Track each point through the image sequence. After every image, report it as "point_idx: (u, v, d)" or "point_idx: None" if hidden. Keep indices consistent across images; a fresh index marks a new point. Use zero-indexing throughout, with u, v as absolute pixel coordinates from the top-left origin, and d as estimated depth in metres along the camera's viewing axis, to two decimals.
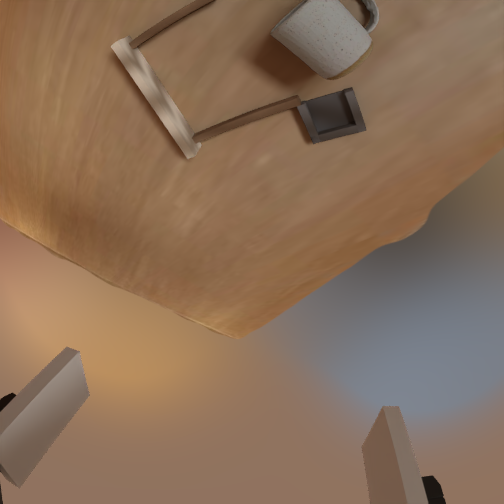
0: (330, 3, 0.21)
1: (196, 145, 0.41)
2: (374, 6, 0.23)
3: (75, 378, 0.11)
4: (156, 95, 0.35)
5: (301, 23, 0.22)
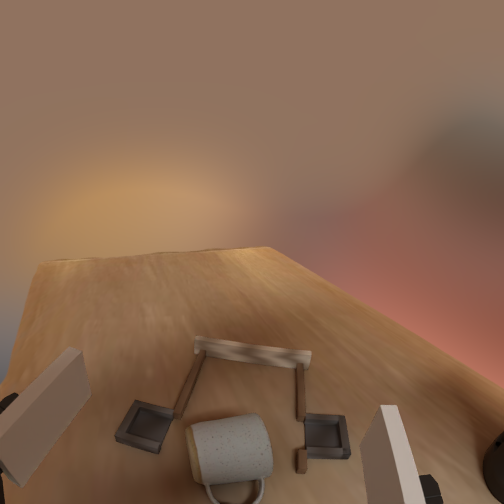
0: (257, 456, 0.26)
1: (198, 348, 0.50)
2: None
3: (77, 378, 0.12)
4: (254, 351, 0.49)
5: (252, 423, 0.28)
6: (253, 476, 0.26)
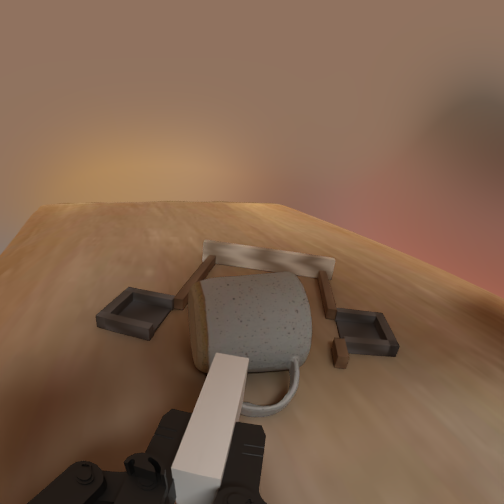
0: (290, 313, 0.21)
1: (207, 254, 0.46)
2: (248, 405, 0.18)
3: None
4: (271, 254, 0.45)
5: (282, 274, 0.24)
6: (283, 354, 0.21)
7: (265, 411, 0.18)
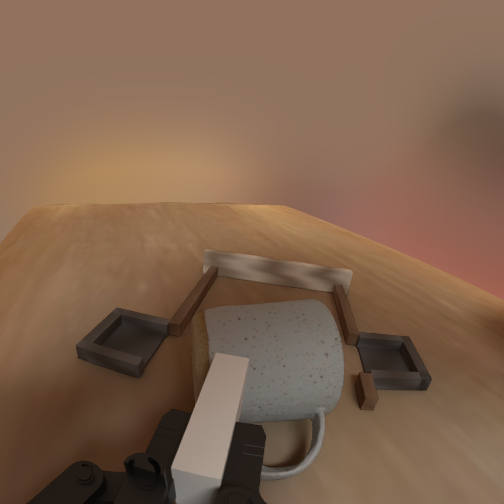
0: (319, 358, 0.16)
1: (208, 265, 0.41)
2: None
3: None
4: (280, 266, 0.40)
5: (308, 304, 0.18)
6: (306, 406, 0.16)
7: (281, 477, 0.13)
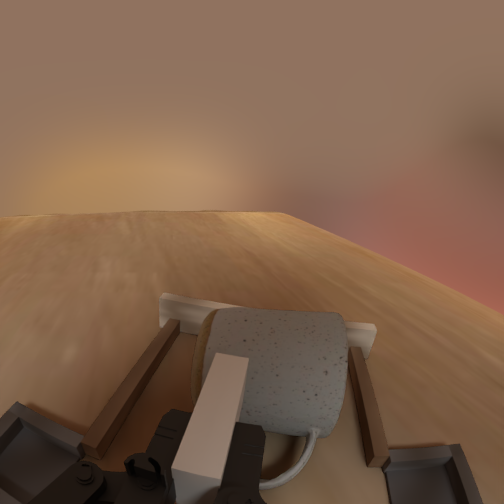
0: (316, 374, 0.14)
1: (166, 317, 0.27)
2: None
3: None
4: None
5: (325, 317, 0.17)
6: (298, 422, 0.14)
7: None
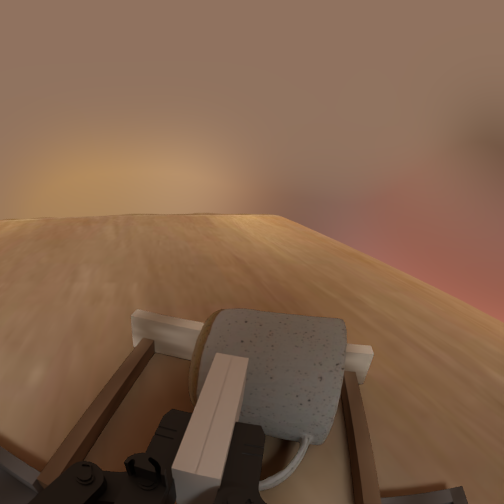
0: (311, 379, 0.14)
1: (139, 336, 0.24)
2: None
3: None
4: None
5: (326, 323, 0.17)
6: (291, 427, 0.14)
7: None
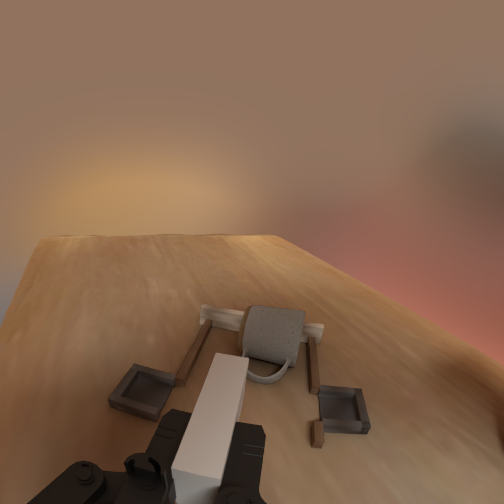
0: (289, 333, 0.38)
1: (204, 318, 0.48)
2: (251, 372, 0.37)
3: None
4: None
5: (296, 311, 0.41)
6: (281, 354, 0.38)
7: (258, 378, 0.36)
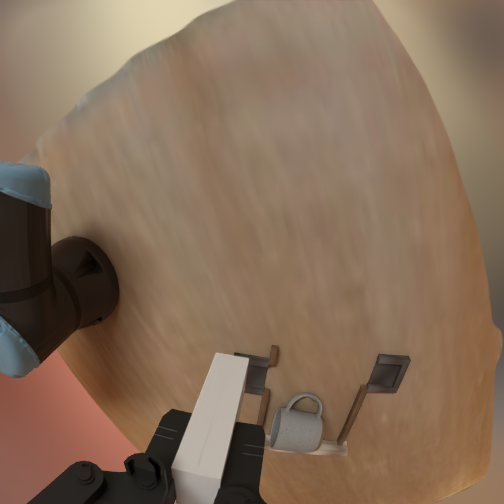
0: (289, 428, 0.44)
1: (343, 445, 0.50)
2: (315, 399, 0.47)
3: None
4: None
5: (281, 446, 0.44)
6: (293, 414, 0.47)
7: (310, 394, 0.48)
